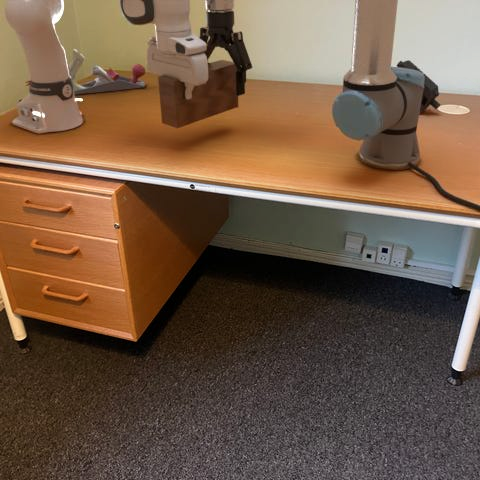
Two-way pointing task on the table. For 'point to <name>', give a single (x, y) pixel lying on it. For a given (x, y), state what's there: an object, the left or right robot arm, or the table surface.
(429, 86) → the tool
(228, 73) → the box
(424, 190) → the table surface
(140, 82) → the hand plane
